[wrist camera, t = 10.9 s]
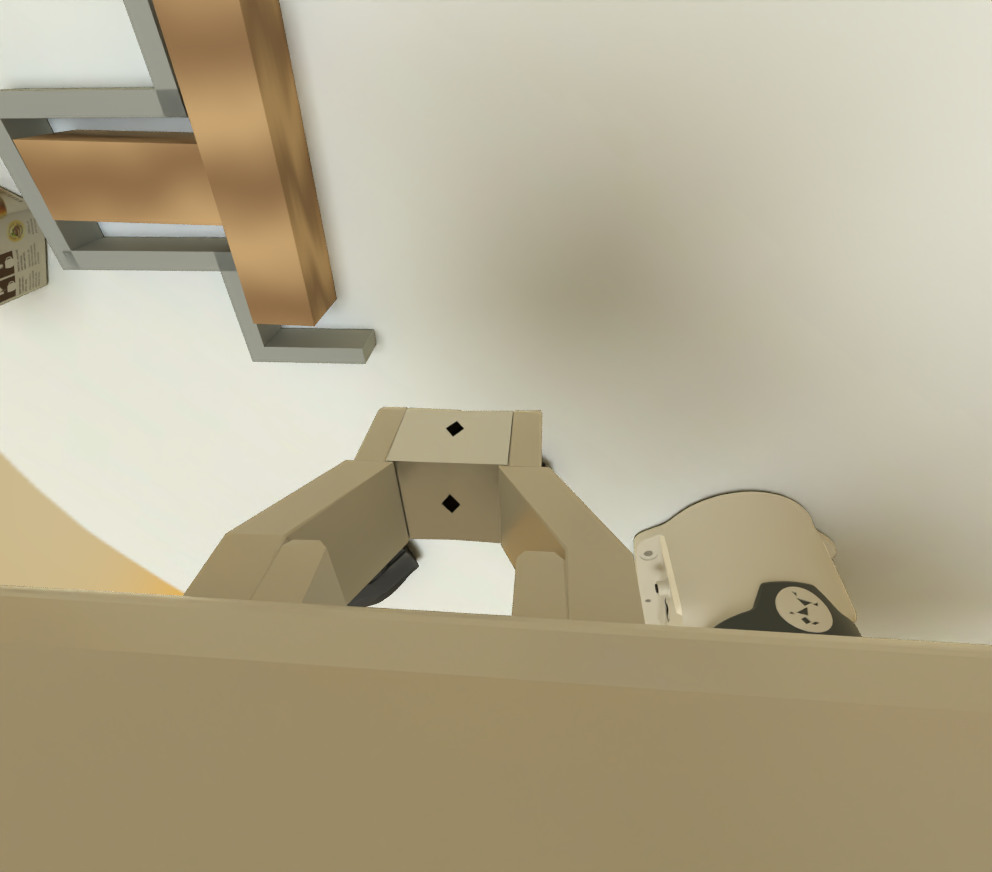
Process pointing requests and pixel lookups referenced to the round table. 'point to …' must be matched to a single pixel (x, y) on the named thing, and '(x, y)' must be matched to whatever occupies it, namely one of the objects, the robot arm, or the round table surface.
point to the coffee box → (19, 249)
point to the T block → (211, 159)
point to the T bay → (89, 250)
